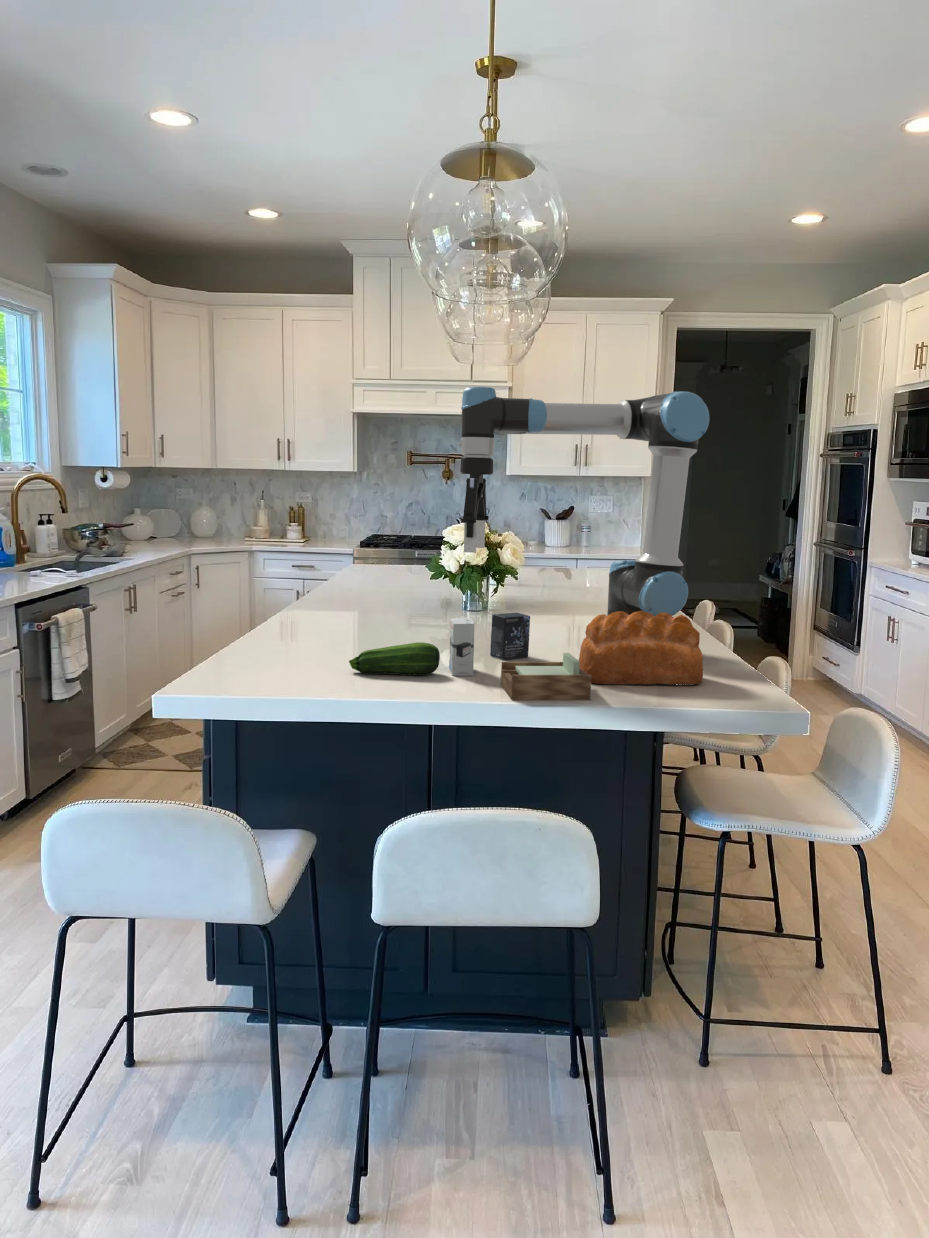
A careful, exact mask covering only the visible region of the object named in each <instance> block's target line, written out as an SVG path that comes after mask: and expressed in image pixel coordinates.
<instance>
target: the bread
mask: <svg viewBox="0 0 929 1238" xmlns="http://www.w3.org/2000/svg"><path fill="white" fill-rule="evenodd" d="M585 628H586V629H585V633H584V634H585V637H584V638H583V639H582V642H581V644H580V649H579V654H578V655H579V657H578V661H579V662H580V663H579V667H580V668H581V669H582V670H583V671H584V672H586V673H587V674H588V675H591V684H596V685H644V686H645V685H646V686H647V685H649V686H652V685H651V684H653V685H662V684H669V685H668V686H680V685H679V684H682V685H681V686H690V685H689V684H697V685H700V684H701V683H703V677H704V665H703V661H704V660H703V653H702V651H701V648H700V641H701V639H700V638H701V636H700V632H699V631H698V630H697V629H696V628H695V627H694V626H693V624H692V621H691V620H690V619H689V618H688V617H687V616H685V615H683V614H679V615H676V616H671V615H670V614H668V613H659V614H658V615H656V616H653V615H652V614H651V613H647V612H644V611H637V612H633V613H632V614H630V615H629V614H627V613H625V612H623V611H617V612H613V613H611V614H610V615H608V616H607V614H604V613H603V614H598V615H597V616H595V617H594V618H592V619H591V622H589V623H587V625H586V627H585ZM699 683H700V684H699ZM676 684H678V685H676ZM683 684H684V685H683ZM685 684H686V685H685ZM687 684H688V685H687Z"/></svg>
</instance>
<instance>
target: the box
mask: <svg viewBox="0 0 929 1238" xmlns="http://www.w3.org/2000/svg"><path fill="white" fill-rule="evenodd" d="M530 625H531V616H530V615H528V614H524V613H522V612H521V613H520V612H507V613H492V615H491V631H490V652H489V654H490V657H493V658H495V659H499V660H502V661H505V660H512V659H513V660H514V659H524V658H525V659H526V658H527V659H528V658H529V649H530V648H529V647H530V646H529V645H530V631H531V630H530V628H531V626H530Z"/></svg>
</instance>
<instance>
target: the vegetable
mask: <svg viewBox="0 0 929 1238" xmlns="http://www.w3.org/2000/svg"><path fill="white" fill-rule="evenodd" d="M440 654H441V653H440V650H439V648H438V647H437V646H436V645H434V644H432V643H429V642H428V643H427V642H423V641H422V642H418V641H417V642H411V643H404V644H398V645H391V646H384V647H380V648H373V649H367V650H364V651H362V652H361V653H359V654H358V656H355V657H354V658H352V659H350V660H348V663H349V665H350V667H351V669H352V670H355V671H357V672H358V673H359V672H360V673H361V674H362V675H377V674H378V675H379V674H391V675H401V676H402V675H405V676H426V675H431V674H432V673H435V671H437V669H438V668H439V665H440V659H441V657H440Z"/></svg>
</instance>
